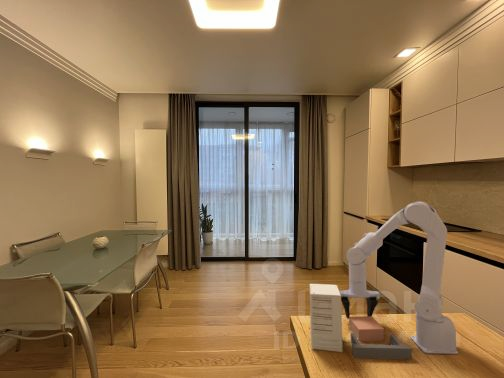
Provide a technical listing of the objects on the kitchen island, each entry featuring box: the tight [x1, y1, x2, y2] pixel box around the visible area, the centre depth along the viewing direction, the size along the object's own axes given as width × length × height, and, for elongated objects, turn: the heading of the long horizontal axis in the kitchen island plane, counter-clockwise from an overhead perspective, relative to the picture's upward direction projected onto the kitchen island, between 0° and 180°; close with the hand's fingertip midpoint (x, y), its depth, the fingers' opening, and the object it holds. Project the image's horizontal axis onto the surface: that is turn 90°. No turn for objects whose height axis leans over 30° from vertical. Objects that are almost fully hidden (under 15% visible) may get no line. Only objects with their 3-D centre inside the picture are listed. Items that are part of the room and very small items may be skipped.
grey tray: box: [350, 332, 413, 360], centre depth 75 cm, size 16×8×3 cm, turn 86°
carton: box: [348, 315, 385, 342], centre depth 83 cm, size 8×8×4 cm
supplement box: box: [309, 283, 343, 353], centre depth 79 cm, size 10×9×17 cm
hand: (358, 317), depth 90 cm, fingers open, 7 cm apart
